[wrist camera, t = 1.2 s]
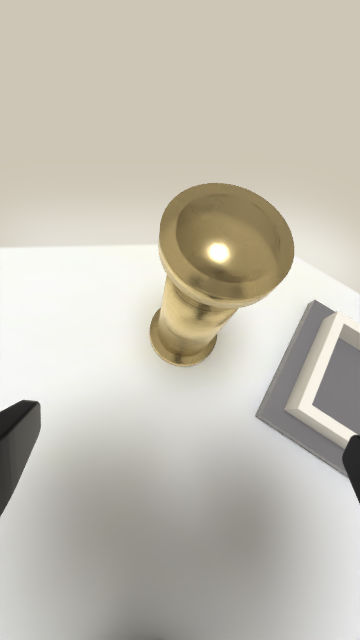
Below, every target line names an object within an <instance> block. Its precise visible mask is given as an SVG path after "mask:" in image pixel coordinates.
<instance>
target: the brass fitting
mask: <svg viewBox="0 0 360 640" xmlns="http://www.w3.org/2000/svg"><path fill="white" fill-rule="evenodd" d="M158 248H159V256H160V260H161V263H162V266H163V268H164V270H165V272H166V274H167V277H166V282H165V288H164V294H163V300H162V305H161V308H160V309H159V310H158V311H157V312H156V314H155V315H154V317H153V319H152V322H151V326H150V340H151V344H152V346H153V348H154V350H155V352H156V353H157V354H158V355H159V356H160V357H161V358H162V359H163V360H165V361H166V362H168V363H170V364H173V365H176V366H191V365H195V364H197V363H199V362H201V361H202V360H204V359H205V358H206V357H207V356H208V355H209V354H210V353H211V351H212V350H213V348H214V346H215V343H216V339H217V333H218V332H219V331H220V329H221V328H222V327H223V326H224V325H225V323H226V322H227V321H228V320H229V319H230V318H231V316H232V315H233V314H234V313H235V312H236V311H237V309H238V308H240V307H245V306H249V305H252V304H254V303H256V302H259V301H260V300H262V299H263V298H265V297H266V296H267V295H268V294H269V293H270V292H272V290H273V289H274V288H275V287H276V286H277V285H278V284H279V283H280V282H281V281H282V280H283V279H284V278H285V277H286V275H287V274H288V272H289V270H290V268H291V265H292V263H293V258H294V242H293V238H292V234H291V231H290V229H289V227H288V225H287V223H286V221H285V219H284V218H283V217H282V215H281V214H280V213H279V212H278V211H277V210H276V209H275V208H274V206H272V205H271V204H270V203H269V202H268V201H266V200H265V199H264V198H262V197H261V196H259V195H257V194H256V193H254V192H252V191H249V190H247V189H244V188H241V187H238V186H235V185H230V184H223V183H208V184H202V185H198V186H194V187H191V188H189V189H187V190H185V191H183V192H181V193H180V194H178V195H177V196H176V197H175V198H174V199H173V200H172V201H171V202H170V203H169V204H168V206H167V208H166V209H165V211H164V213H163V216H162V219H161V223H160V234H159V244H158Z"/></svg>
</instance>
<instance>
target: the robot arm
mask: <svg viewBox="0 0 360 640" xmlns="http://www.w3.org/2000/svg"><path fill="white" fill-rule="evenodd" d="M40 428H41V413H40V403H39V402H38V401H31V400H22V401H20V402H18V403H16V404H14V405H12V406H10V407H8V408H6V409H4V410H3V411H1V412H0V516H1V515H2V513H3V511H4V509H5V507H6V506H7V504H8V502H9V500H10V498H11V496H12V494H13V492H14V490H15V488H16V486H17V484H18V481H19V479H20V477H21V474H22V472H23V470H24V468H25V465H26V463H27V461H28V458H29V456H30V454H31V451H32V449H33V447H34V445H35V442H36V440H37V438H38V435H39V432H40ZM342 463H343V465H344V468H345V470H346V473H347V475H348V477H349V480H350V482H351V484H352V487H353V489H354V491H355V494H356V496H357V498H358V501H359V503H360V435H353V436H351V438H350V439H349V442H348V444H347V446H346V448H345V450H344V452H343V454H342Z"/></svg>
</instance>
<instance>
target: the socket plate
mask: <svg viewBox="0 0 360 640" xmlns="http://www.w3.org/2000/svg"><path fill="white" fill-rule="evenodd" d="M256 417H258V418H259V419H261V420H262V421H264V422H265V423H267V424H268V425H270V426H271V427H273V428H274V429H276V430H277V431H279V432H280V433H282V434H283V435H285V436H286V437H288V438H289V439H291V440H292V441H294V442H295V443H297V444H298V445H300V446H301V447H303V448H305V449H306V450H308V451H309V452H311V453H312V454H314V455H315V456H317V457H318V458H320V459H321V460H323V461H324V462H326V463H327V464H329V465H330V466H332V467H333V468H335V469H336V470H338V471H339V472H341V473H342V474H344V475H345V476H347V477H348V475H347V473H346V470H345V468H344V465H343V463H342V454H343V452H344V450H345V448H346V446H347V444H348V442H349V439H350V438H351V436H353V435H360V324H359V323H358V322H356V321H354V320H353V319H351V318H349V317H348V316H346V315H345V314H343V313H341V312H340V311H337V312H334V311H333V310H331V309H329V308H328V307H326V306H324V305H323V304H321V303H320V302H318V301H316V300H314V301H312V302H311V303H309V304H308V306H307V308H306V310H305V313H304V315H303V317H302V319H301V321H300V323H299V325H298V327H297V329H296V332H295V334H294V336H293V338H292V340H291V342H290V344H289V346H288V348H287V350H286V353H285V355H284V357H283V359H282V361H281V363H280V365H279V367H278V369H277V372H276V374H275V376H274V378H273V380H272V382H271V384H270V386H269V388H268V391H267V393H266V395H265V397H264V399H263V401H262V403H261V405H260V407H259V410H258V412H257V414H256ZM348 478H349V477H348Z"/></svg>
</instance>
